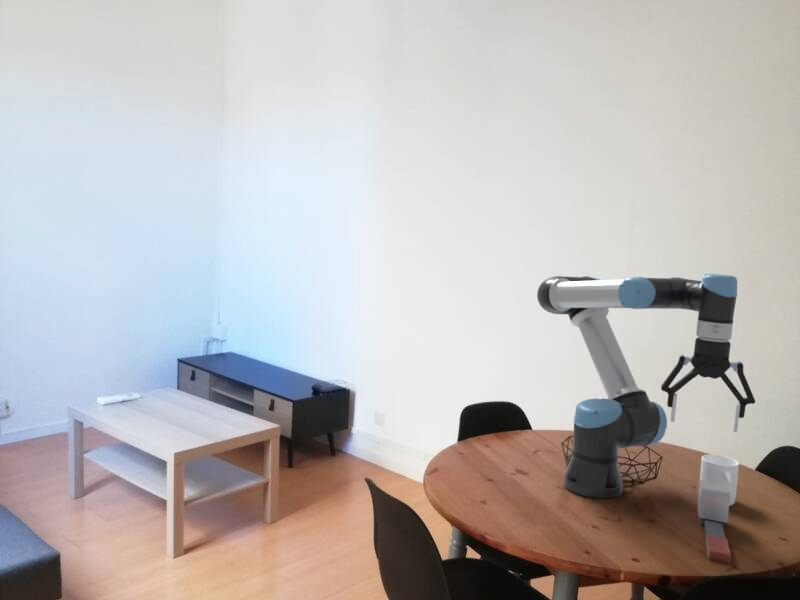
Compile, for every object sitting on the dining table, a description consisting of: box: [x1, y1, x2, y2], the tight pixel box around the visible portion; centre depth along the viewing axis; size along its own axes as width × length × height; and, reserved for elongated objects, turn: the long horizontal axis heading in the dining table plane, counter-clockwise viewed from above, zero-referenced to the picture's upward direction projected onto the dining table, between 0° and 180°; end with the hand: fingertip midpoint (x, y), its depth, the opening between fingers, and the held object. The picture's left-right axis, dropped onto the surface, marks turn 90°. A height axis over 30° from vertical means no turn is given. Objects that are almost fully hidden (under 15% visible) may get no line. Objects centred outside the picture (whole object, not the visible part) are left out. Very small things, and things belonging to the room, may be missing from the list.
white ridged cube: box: [696, 479, 730, 524], centre depth 145 cm, size 6×6×7 cm
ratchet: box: [698, 517, 732, 565], centre depth 137 cm, size 23×5×6 cm, turn 157°
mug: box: [699, 454, 740, 507], centre depth 158 cm, size 9×12×11 cm
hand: (702, 425), depth 149 cm, fingers open, 13 cm apart
